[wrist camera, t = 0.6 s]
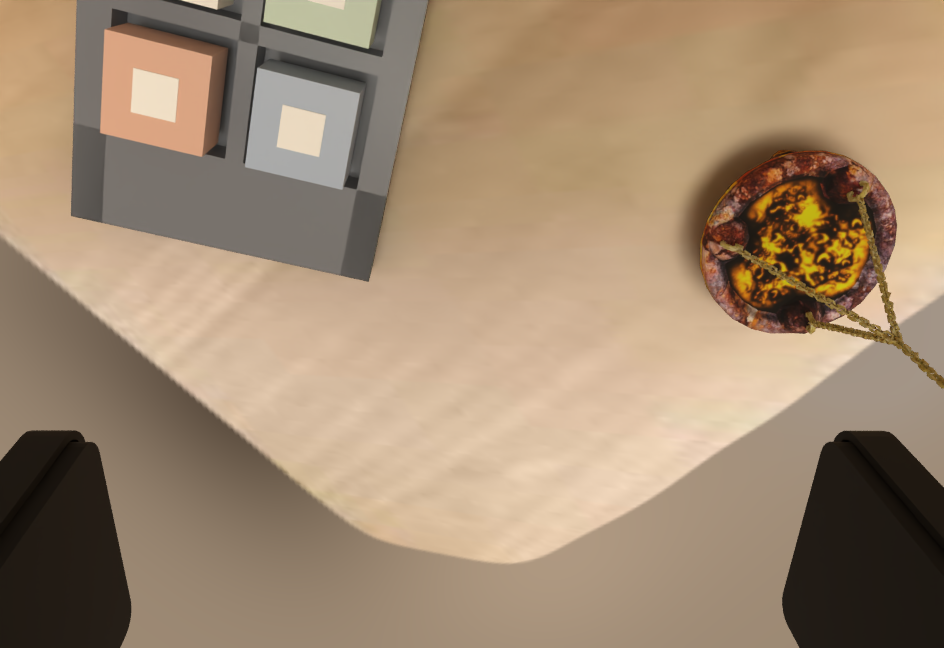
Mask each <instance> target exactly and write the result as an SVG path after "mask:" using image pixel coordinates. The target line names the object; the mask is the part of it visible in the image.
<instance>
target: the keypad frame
mask: <svg viewBox="0 0 944 648" xmlns="http://www.w3.org/2000/svg"><path fill="white" fill-rule="evenodd" d="M428 2H429V0H382V1H381V7H380V12H379V17H378V23H377V28H376V33H375V39H374V42H373V43H372V45H371V46H370V47H369V49H367V48H363V47H359V46H356V45H352V44H348V43H344V42H340V41H336V40H332V39H329V38H325V37H321V36H317V35H313V34H309V33H305V32H302V31H298V30H294V29H290V28H286V27H282V26H278V25H275V24H271V23H267V22H263V20H264V12H265V4H266V0H234V1H233V4H232V5H229V6H226V7H223V8H220V9H213V8H209V7H205V6H201V5H198V4H194V3H190V2H186V1H182V0H77V13H76V50H75V86H74V123H73V160H72V197H71V216H73V217H78V218H82V219H87V220H92V221H96V222H101V223H105V224H110V225H114V226H119V227H123V228H128V229H132V230H137V231H141V232H146V233H150V234H155V235H159V236H164V237H169V238H173V239H178V240H182V241H187V242H191V243H196V244H200V245H205V246H209V247H214V248H218V249H223V250H227V251H232V252H236V253H241V254H246V255H250V256H255V257H259V258H264V259H268V260H273V261H277V262H282V263H286V264H291V265H295V266H300V267H304V268H309V269H313V270H318V271H323V272H327V273H332V274H336V275H341V276H345V277H350V278H354V279H359V280H363V281H368V282H369V278H370V274H371V270H372V266H373V261H374V256H375V252H376V247H377V242H378V237H379V233H380V228H381V223H382V219H383V214H384V209H385V204H386V200H387V195H388V190H389V186H390V181H391V176H392V171H393V167H394V162H395V157H396V153H397V148H398V143H399V138H400V134H401V129H402V124H403V120H404V115H405V110H406V105H407V101H408V96H409V91H410V87H411V82H412V77H413V73H414V68H415V63H416V58H417V54H418V49H419V44H420V40H421V35H422V30H423V25H424V21H425V16H426V11H427V7H428ZM125 23H132V24H136V25H140V26H144V27H148V28H152V29H155V30H159V31H163V32H167V33H171V34H175V35H179V36H183V37H187V38H191V39H195V40H199V41H203V42H207V43H211V44H215V45H219V46H222V47H226V48H228V56H227V65H226V74H225V84H224V93H223V102H222V111H221V120H220V129H219V138H218V143H217V144H216V145H215V146H214V147H213V148H212V149H210V150H209V151H208V152H207V153H206V154H205V155H204V156H203V157H200V156H196V155H192V154H187V153H183V152H179V151H175V150H170V149H166V148H162V147H158V146H153V145H149V144H145V143H141V142H136V141H132V140H128V139H124V138H119V137H115V136H111V135H107V134H102V133H100V124H101V100H102V77H103V53H104V29H107V28H111V27H114V26H118V25H121V24H125ZM269 59H274V60H278V61H282V62H286V63H289V64H293V65H297V66H301V67H305V68H309V69H313V70H317V71H321V72H325V73H329V74H333V75H337V76H341V77H345V78H349V79H353V80H357V81H360V82H364V83H366V87H365V92H364V98H363V103H362V108H361V114H360V119H359V124H358V130H357V135H356V140H355V146H354V151H353V156H352V162H351V167H350V172H349V175H348V178H347V180H346V182H345V185H344V187H343V189H342V190H341V189H336V188H332V187H328V186H324V185H319V184H315V183H311V182H307V181H302V180H298V179H294V178H290V177H285V176H281V175H277V174H273V173H268V172H264V171H260V170H256V169H251V168H247V167H245V162H246V154H247V146H248V138H249V130H250V122H251V115H252V107H253V99H254V91H255V83H256V75H257V68H258V67H259V66H261V65H262V64H263V63H265V62H266V61H268V60H269Z"/></svg>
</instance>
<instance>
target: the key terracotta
mask: <svg viewBox="0 0 944 648" xmlns="http://www.w3.org/2000/svg"><path fill="white" fill-rule="evenodd" d="M227 56H228V48H226V47H222V46H219V45H215V44H211V43H207V42H203V41H199V40H195V39H191V38H187V37H183V36H179V35H175V34H171V33H167V32H163V31H159V30H155V29H152V28H148V27H144V26H140V25H136V24H132V23H125V24H121V25H118V26H114V27H111V28H107V29H104V53H103V77H102V100H101V124H100V133H102V134H107V135H111V136H115V137H119V138H124V139H128V140H132V141H136V142H141V143H145V144H149V145H153V146H158V147H162V148H166V149H170V150H175V151H179V152H183V153H187V154H192V155H196V156H200V157H203V156H204V155H205V154H206V153H207V152H208V151H209V150H210V149H212V148H213V147H214V146H215V145H216V144H217V143H218V138H219V129H220V120H221V111H222V102H223V93H224V84H225V74H226V65H227Z"/></svg>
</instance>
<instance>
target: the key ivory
mask: <svg viewBox="0 0 944 648" xmlns="http://www.w3.org/2000/svg"><path fill="white" fill-rule="evenodd" d="M182 1H186V2H190V3H194V4H198V5H201V6H205V7H209V8H213V9H220V8H223V7H226V6H229V5H232V4H233V1H234V0H182Z"/></svg>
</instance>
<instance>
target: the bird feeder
mask: <svg viewBox="0 0 944 648" xmlns="http://www.w3.org/2000/svg"><path fill="white" fill-rule="evenodd" d="M896 230H897V223H896V215H895V209H894V206H893V204H892V201H891V199H890V196H889V194H888V192H887V191H886V190H885V188H884V187H883V186H882V184H881V183H880V181H879V180H878V179H877V177H876V176H875V175H873V174H872V173H871V172H870V171H869V170H867V169H866V168H865V167H863V166H862V165H861V164H859V163H857V162H855V161H854V160H852V159H850V158H848V157H846V156H844V155H840V154H835V153H831V152H827V151H802V152H796V151H790V150H780V151H778V152H777V153H775V154H774V155H773V156H772V158H771V159H770V160H769V161H766V162H764V163H762V164H761V165H759V166H757V167H755V168H753V169H751V170H750V171H748V172H746V173H745V174H744V175H743V176H741V177H740V178H739V179H738V180H737V181H736V182H734V183H733V184H732V185H731V186H730V187H729V188H728V190H727V191H726V192H725V193H724V195H723V196H722V197H721V198H720V199H719V201H718V202H717V204H716V205H715V207H714V209H713V211H712V212H711V214H710V216H709V218H708V220H707V223H706V226H705V229H704V232H703V236H702V239H701V246H700V267H701V271H702V274H703V277H704V280H705V284H706V287H707V289H708V290H709V292H710V294H711V295H712V297H713V299H714V300H715V301H716V302H717V303H718V304H719V305H720V306H721V308H722V309H723V310H724V311H725V312H726V313H727V314H728V315H729V316H730V317H731V318H732V319H734V320H736V321H738V322H740V323H742V324H744V325H745V326H747V327H749V328H751V329H755V330H759V331H763V332H767V333H802V334H805V333H807V332H809V333H810V334H812V333H813V332H814V331H815V329H816V328H822V329H828V330H829V331H830V330H831V331H837V332H840V331H841V332H842V333H845V334H851V335H852V336H856V337H862V338H864V339H866V340H867V339H870V340H874V341H876V342H878V341H880V342H881V343H887V344H893V345H894V346H897V348H898V349H902V351H903V353H904V354H905V355H907V356H911V357H910V358H911V360H912V361H913V362H915V363H917V364H918V367H919V368H920V369H921V370H922V371H923V372H927V376H928V377H929V378H930V379H932V380H935V381H936V383H937V384H938V385H939V386H940V387H941V388H944V378H943V377H942V376H941V375H940V376H939V375H938V374H937V373H936V371H935V370H934V369H933V368H931V367H929V364H928V363H927V362H926V361H924V359H922V360H921V359H919V356H918V353H916V352H913V351H911V347H909V346H908V345H906V344H904V342H903V341H902V335H901V333H900V332H899V331H898V330H900V329H899V327H898V324H897V323H896V321H895V320H896V316H895V313H894V311H893V302H891V301H889V297H890V294H891V293H889V292H888V291H887V290H888V287H887V283H886V281H884V280H885V279H886V277H885V275H884V271H885V269H886V267H887V265H888V262H889V259H890V257H891V254H892V251H893V249H894V246H895V240H896ZM883 278H884V279H883ZM882 282H883V283H882ZM877 283H880V285H879V288H880V291H881V293H883V295H882V296H881V298H882V301H883V303H885V305H884V308H885V313H887V314H888V315H887V319H888V323H890V325H891V326H890V331H891V333H890V332H889V331H888V330H886V331H882V330H881V327H880V326H877V325H875V324H872V325H871V324H870V323H869V320H867V319H865V318H863V317H859V315H858V314H856V313H855V312H853V311H851V310H852V309H853V308H855V307H856V306H857V305H859V304H860V303H861V302H862V301H863V300H864V299H865V297H866V296H867V295H868V294H869V293H870V292H871V290H872V289H873V288H874V287H875V286H876V284H877ZM887 302H888V303H887ZM890 307H891V308H890ZM890 312H891V313H890ZM845 314H846V315H848V316H847V318H848V319H850V320H852V321H854V322H856V321H857V322H859V324H860V325H861V326H863V327H864V328H869V330H870V331H871V332H873V333H875V334H873V333H871V332H869V331H868V332H866V331H861V330H857V329H856V330H855V329H853V328H847V327H845V328H844V326H840V325H836V324H835V325H834V324H830V323H829V322H831V321H833V320H836V319H838V318H840V317H842V316H844V315H845ZM853 315H854V316H853ZM850 316H852V317H850ZM866 322H867V323H866ZM892 322H893V323H892ZM870 326H871V327H870ZM875 326H876V327H877V328H878V329H876V327H875ZM892 327H893V328H892ZM896 327H897V329H896ZM872 329H876V330H875V331H874V330H872ZM881 332H882V333H881ZM888 334H890V335H891V336H889V335H888ZM917 357H918V358H917ZM930 373H935V374H930ZM936 377H937V379H936Z"/></svg>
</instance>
